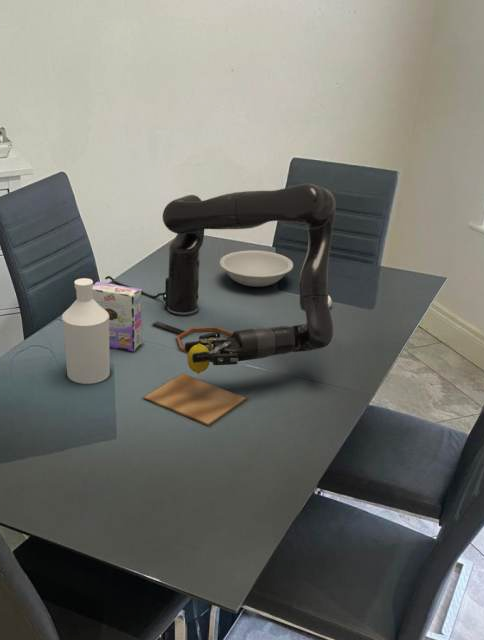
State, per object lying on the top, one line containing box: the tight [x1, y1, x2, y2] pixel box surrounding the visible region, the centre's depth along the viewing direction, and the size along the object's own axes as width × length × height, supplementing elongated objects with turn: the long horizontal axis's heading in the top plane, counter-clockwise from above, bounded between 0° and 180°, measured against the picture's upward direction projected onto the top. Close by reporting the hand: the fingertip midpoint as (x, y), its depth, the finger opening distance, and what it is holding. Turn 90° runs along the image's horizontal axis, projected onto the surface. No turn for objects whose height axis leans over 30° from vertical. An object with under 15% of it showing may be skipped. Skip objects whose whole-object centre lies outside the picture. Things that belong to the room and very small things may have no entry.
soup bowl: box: [219, 249, 294, 288], centre depth 244 cm, size 24×24×7 cm
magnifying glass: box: [152, 321, 234, 354], centre depth 213 cm, size 28×17×1 cm, turn 50°
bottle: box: [61, 277, 111, 385], centre depth 189 cm, size 12×12×25 cm
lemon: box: [187, 344, 211, 375], centre depth 182 cm, size 6×6×8 cm
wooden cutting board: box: [143, 373, 247, 426], centre depth 186 cm, size 20×16×1 cm
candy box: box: [92, 281, 143, 352], centre depth 205 cm, size 14×6×16 cm, turn 65°
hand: (189, 352), depth 180 cm, fingers closed on lemon, 5 cm apart
